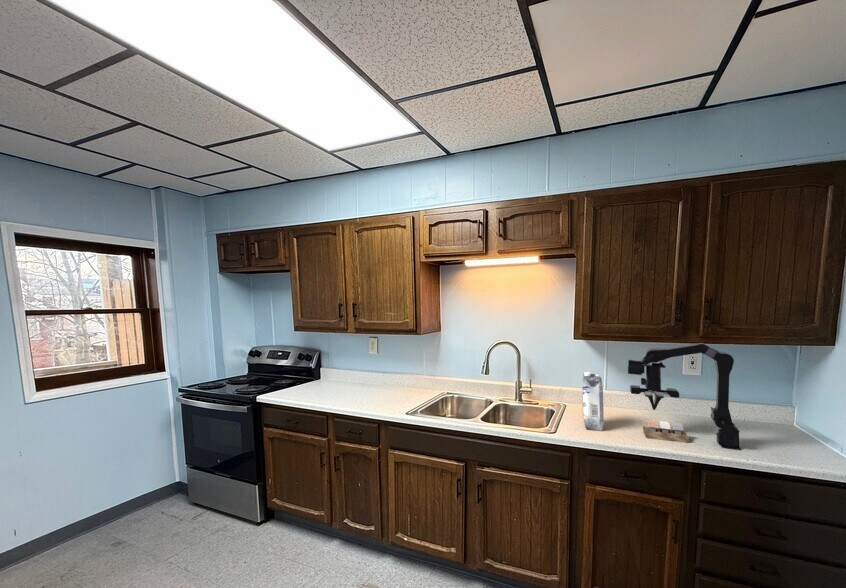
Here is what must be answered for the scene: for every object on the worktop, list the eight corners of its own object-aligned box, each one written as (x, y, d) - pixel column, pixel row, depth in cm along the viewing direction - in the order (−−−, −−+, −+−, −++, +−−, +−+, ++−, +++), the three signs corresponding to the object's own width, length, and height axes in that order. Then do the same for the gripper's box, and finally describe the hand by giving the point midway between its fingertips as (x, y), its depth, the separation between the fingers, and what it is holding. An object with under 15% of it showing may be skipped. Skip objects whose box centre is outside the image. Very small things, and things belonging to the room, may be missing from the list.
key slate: (681, 433, 160) (680, 423, 160) (683, 436, 156) (682, 425, 156) (672, 433, 161) (671, 422, 161) (674, 435, 158) (673, 425, 158)
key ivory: (668, 432, 161) (668, 422, 161) (670, 435, 158) (670, 424, 158) (659, 431, 163) (659, 421, 163) (661, 434, 160) (661, 423, 160)
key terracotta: (656, 431, 163) (655, 420, 163) (657, 433, 160) (657, 423, 160) (647, 430, 165) (647, 420, 165) (648, 432, 162) (648, 422, 162)
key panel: (684, 436, 161) (684, 430, 161) (688, 442, 154) (688, 436, 154) (643, 432, 167) (643, 426, 167) (645, 437, 160) (645, 431, 161)
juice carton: (602, 424, 178) (600, 371, 178) (604, 432, 168) (603, 375, 168) (582, 422, 181) (581, 370, 181) (584, 430, 171) (582, 374, 172)
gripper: (673, 374, 167) (674, 407, 167) (628, 371, 175) (629, 402, 175) (679, 379, 157) (679, 414, 157) (631, 375, 165) (631, 409, 165)
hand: (654, 409), depth 164 cm, fingers closed
